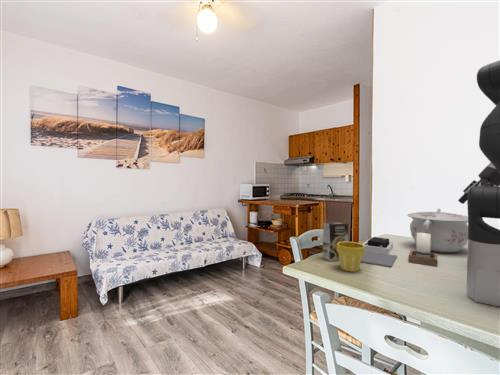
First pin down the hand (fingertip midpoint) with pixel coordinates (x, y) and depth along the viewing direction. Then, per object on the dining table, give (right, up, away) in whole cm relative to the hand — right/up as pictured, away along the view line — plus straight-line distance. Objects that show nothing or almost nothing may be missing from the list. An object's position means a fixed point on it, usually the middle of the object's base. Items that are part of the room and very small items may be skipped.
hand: (465, 204), depth 106 cm
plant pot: (-46, -26, -1) cm, 53 cm away
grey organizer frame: (-21, -24, +30) cm, 44 cm away
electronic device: (-20, -25, +30) cm, 44 cm away
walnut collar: (-11, -25, +9) cm, 29 cm away
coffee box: (-48, -25, +13) cm, 55 cm away
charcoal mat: (-31, -25, +13) cm, 41 cm away
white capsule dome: (-11, -25, +9) cm, 29 cm away
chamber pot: (+9, -25, +29) cm, 39 cm away
